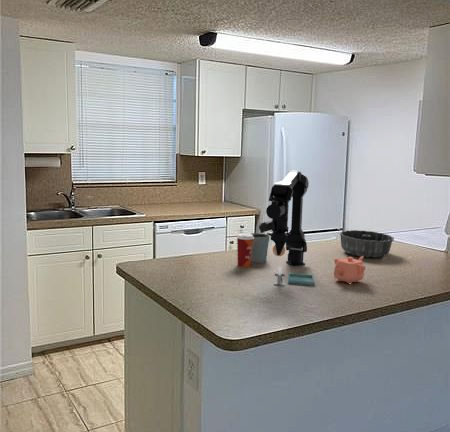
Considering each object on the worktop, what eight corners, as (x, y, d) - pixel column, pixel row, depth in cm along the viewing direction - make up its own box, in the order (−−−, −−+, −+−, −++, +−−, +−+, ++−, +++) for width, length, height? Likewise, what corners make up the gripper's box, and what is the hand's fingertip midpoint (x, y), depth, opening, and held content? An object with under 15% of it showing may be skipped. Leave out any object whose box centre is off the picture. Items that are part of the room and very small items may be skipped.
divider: (275, 273, 201) (275, 264, 200) (284, 274, 200) (285, 265, 200) (273, 285, 185) (274, 275, 185) (284, 285, 185) (284, 275, 184)
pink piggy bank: (364, 288, 186) (366, 262, 184) (333, 285, 188) (335, 260, 186) (361, 278, 199) (364, 254, 198) (332, 275, 202) (334, 252, 200)
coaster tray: (288, 276, 198) (288, 273, 197) (313, 278, 196) (313, 274, 196) (288, 283, 188) (288, 280, 187) (314, 285, 186) (314, 282, 186)
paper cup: (251, 268, 208) (252, 237, 206) (234, 267, 209) (235, 235, 207) (253, 264, 215) (255, 233, 213) (237, 262, 217) (238, 232, 215)
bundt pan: (397, 253, 247) (399, 234, 246) (384, 263, 225) (386, 243, 224) (348, 246, 261) (349, 228, 260) (331, 254, 239) (332, 235, 238)
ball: (280, 254, 195) (280, 242, 194) (287, 256, 191) (287, 244, 190) (269, 255, 193) (270, 243, 192) (276, 258, 188) (277, 245, 187)
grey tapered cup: (243, 261, 220) (244, 235, 218) (250, 256, 229) (251, 232, 227) (264, 264, 216) (265, 238, 214) (270, 259, 226) (272, 234, 224)
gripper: (262, 210, 199) (260, 246, 202) (258, 218, 181) (256, 258, 184) (289, 212, 197) (287, 248, 200) (287, 219, 179) (285, 260, 182)
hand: (278, 253), depth 191 cm, fingers closed on ball, 5 cm apart
